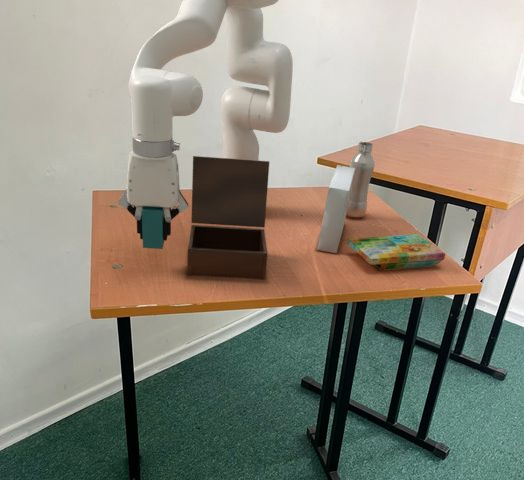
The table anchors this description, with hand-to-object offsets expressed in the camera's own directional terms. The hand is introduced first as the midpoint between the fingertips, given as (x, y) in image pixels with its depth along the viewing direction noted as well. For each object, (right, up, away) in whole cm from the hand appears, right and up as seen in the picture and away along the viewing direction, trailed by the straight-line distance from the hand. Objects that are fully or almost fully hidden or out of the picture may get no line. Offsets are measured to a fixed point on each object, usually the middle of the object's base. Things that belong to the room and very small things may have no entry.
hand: (154, 236), depth 122 cm
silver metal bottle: (+48, +14, +45) cm, 67 cm away
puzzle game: (+54, -2, +20) cm, 58 cm away
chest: (+15, -5, +9) cm, 18 cm away
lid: (+15, +11, +8) cm, 21 cm away
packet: (0, -1, +1) cm, 1 cm away
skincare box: (+41, +5, +30) cm, 51 cm away
